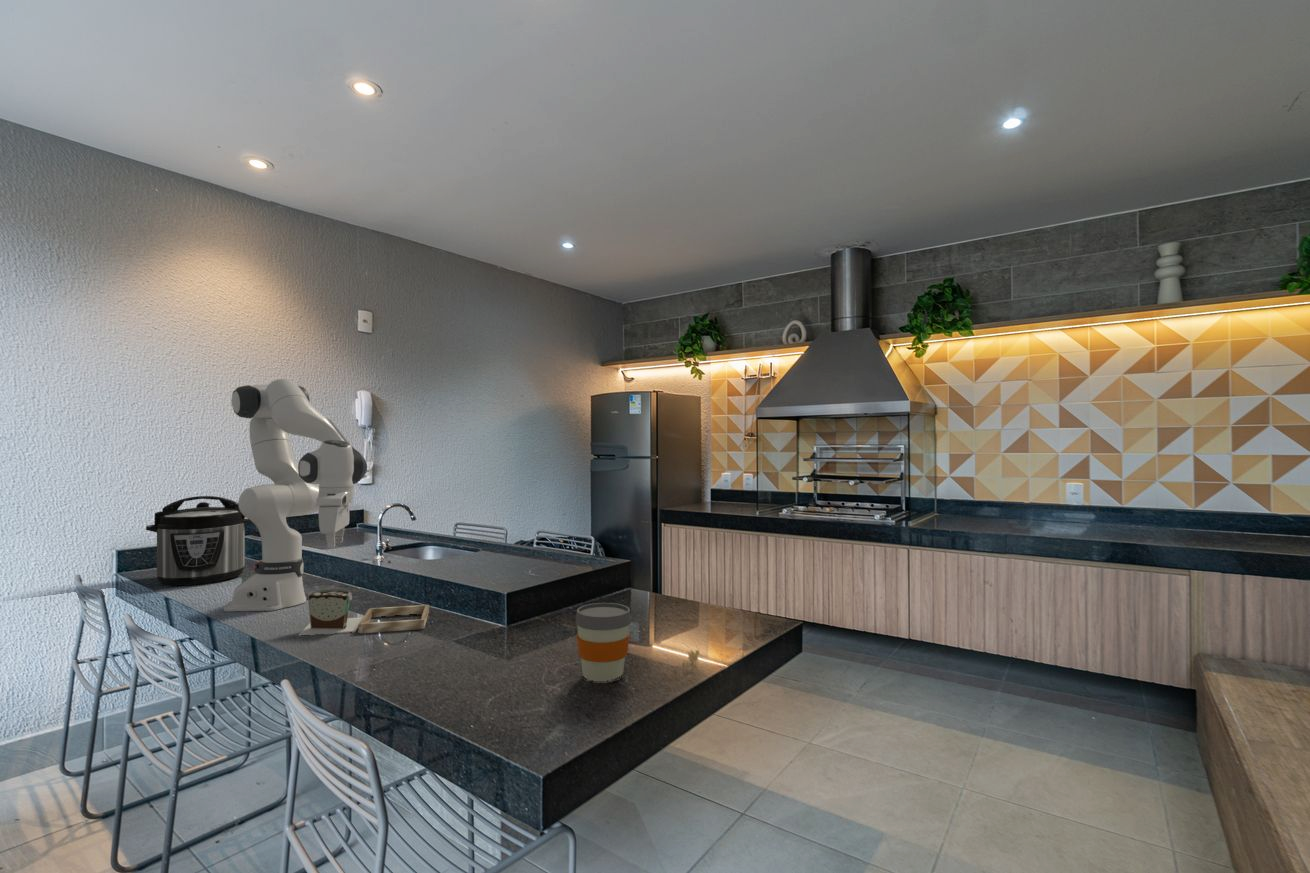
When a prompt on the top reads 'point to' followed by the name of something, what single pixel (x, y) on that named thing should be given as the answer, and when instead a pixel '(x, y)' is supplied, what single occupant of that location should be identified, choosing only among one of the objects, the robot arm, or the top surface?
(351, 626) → the mat
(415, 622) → the frame
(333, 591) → the food container
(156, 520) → the pressure cooker
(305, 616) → the top surface
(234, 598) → the robot arm
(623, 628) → the reusable coffee cup
